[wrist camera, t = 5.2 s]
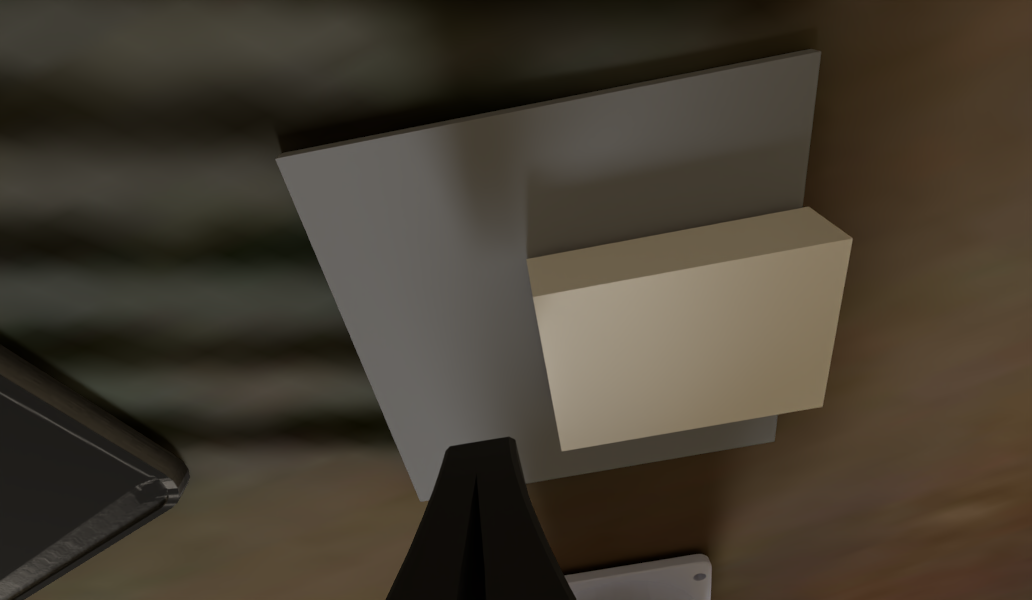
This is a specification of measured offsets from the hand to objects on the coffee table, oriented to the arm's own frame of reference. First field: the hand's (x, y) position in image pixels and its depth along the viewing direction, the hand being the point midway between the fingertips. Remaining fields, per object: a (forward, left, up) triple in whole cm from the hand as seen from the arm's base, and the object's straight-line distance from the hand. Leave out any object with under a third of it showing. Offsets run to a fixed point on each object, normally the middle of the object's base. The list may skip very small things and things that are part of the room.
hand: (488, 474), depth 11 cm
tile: (0, -2, -3) cm, 4 cm away
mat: (0, -3, -5) cm, 6 cm away
